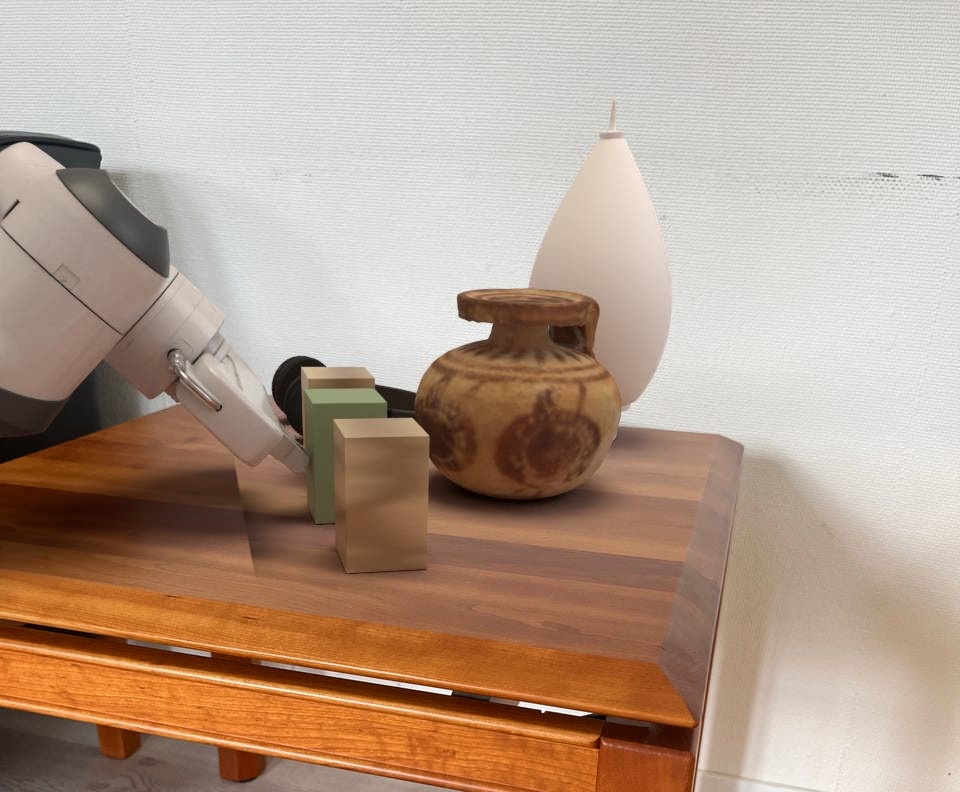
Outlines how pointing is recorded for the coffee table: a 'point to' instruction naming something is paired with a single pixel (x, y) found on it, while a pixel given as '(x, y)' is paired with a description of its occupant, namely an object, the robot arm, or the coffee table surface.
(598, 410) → the clay pot
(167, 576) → the coffee table surface
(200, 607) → the coffee table surface
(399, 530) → the maple block near
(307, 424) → the green block
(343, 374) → the maple block far
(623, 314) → the lamp
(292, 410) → the headphones
